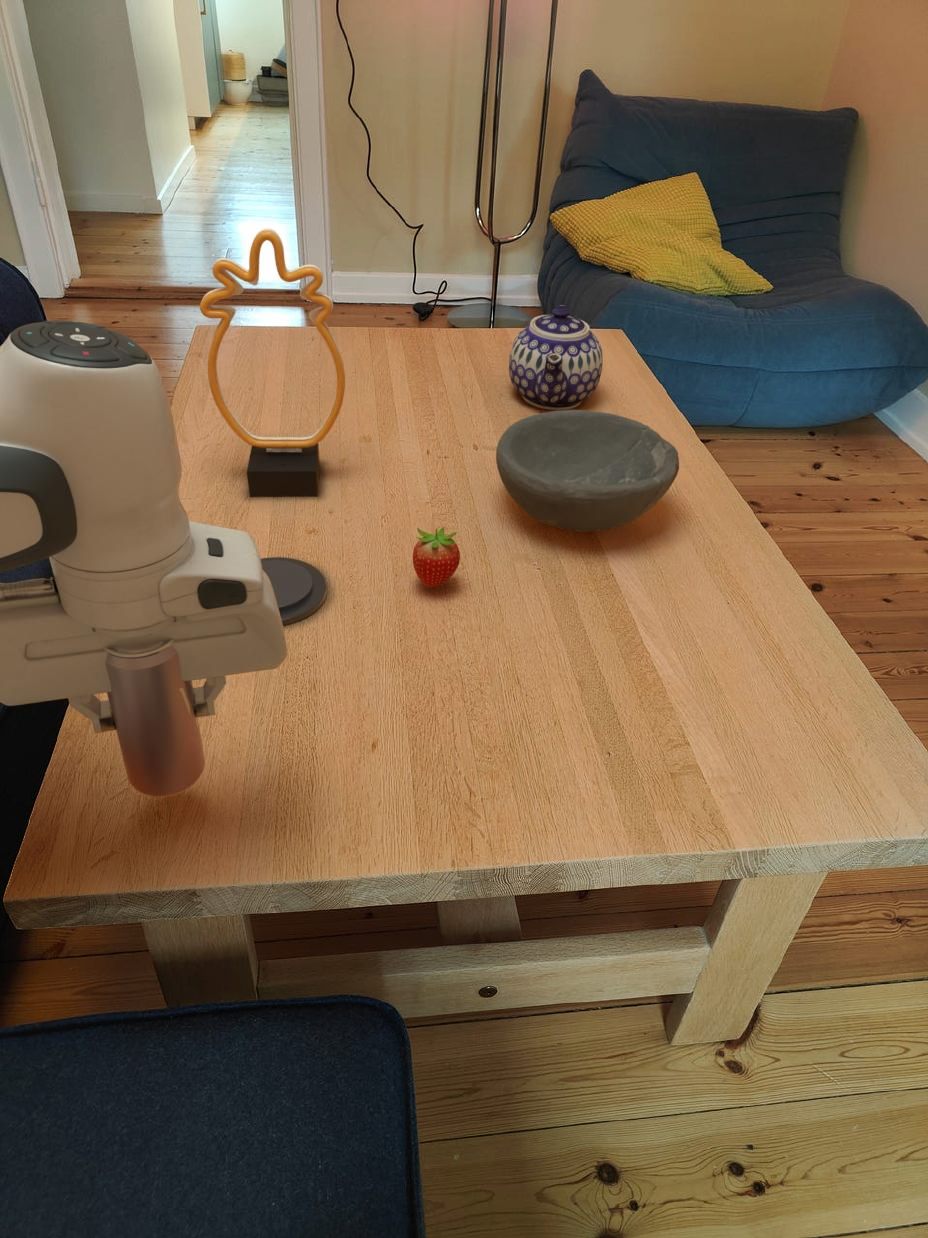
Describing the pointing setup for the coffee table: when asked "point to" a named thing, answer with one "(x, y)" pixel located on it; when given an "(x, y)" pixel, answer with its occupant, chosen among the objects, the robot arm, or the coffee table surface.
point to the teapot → (555, 361)
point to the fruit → (435, 558)
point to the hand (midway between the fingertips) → (157, 718)
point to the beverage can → (154, 718)
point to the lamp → (272, 459)
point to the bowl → (585, 468)
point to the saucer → (295, 587)
